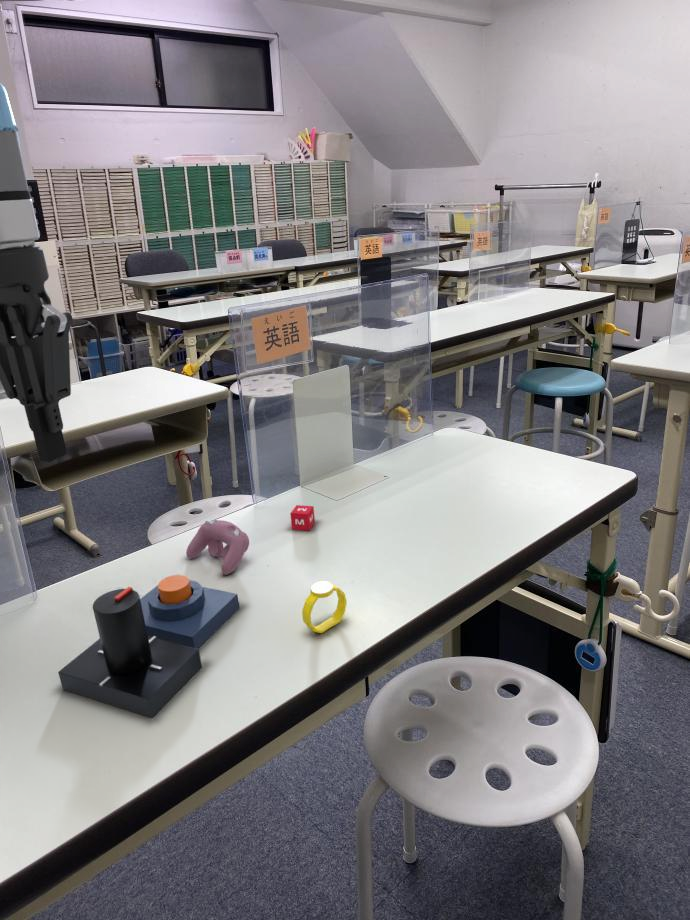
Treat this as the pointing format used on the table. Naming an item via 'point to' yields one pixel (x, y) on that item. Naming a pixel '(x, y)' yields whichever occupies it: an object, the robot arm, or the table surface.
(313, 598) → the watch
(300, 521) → the red letter cube
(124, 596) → the dial
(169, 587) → the button
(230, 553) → the video game controller
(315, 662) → the table surface
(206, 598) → the button base
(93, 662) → the dial panel
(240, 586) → the table surface
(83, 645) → the table surface
